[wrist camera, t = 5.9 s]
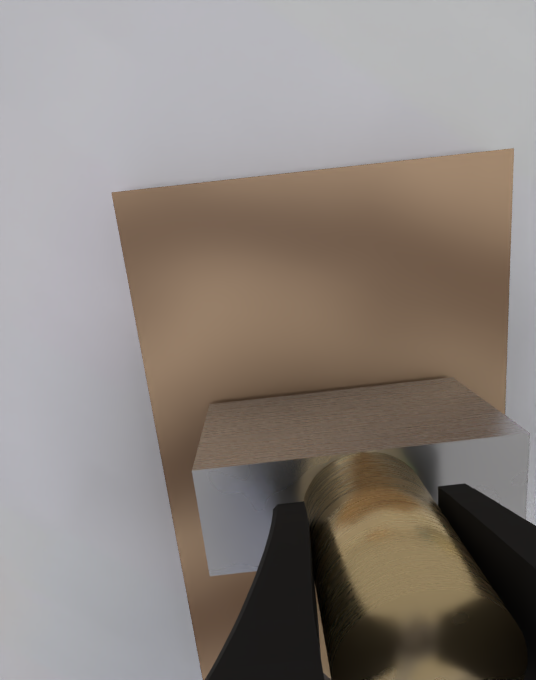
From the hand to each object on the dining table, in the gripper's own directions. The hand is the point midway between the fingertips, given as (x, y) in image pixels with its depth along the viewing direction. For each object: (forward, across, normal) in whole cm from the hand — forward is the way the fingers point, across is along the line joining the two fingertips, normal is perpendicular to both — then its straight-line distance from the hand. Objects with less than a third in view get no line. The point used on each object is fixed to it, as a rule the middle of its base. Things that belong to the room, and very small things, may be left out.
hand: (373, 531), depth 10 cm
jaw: (+5, 0, 0) cm, 5 cm away
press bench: (+7, 0, +2) cm, 7 cm away
